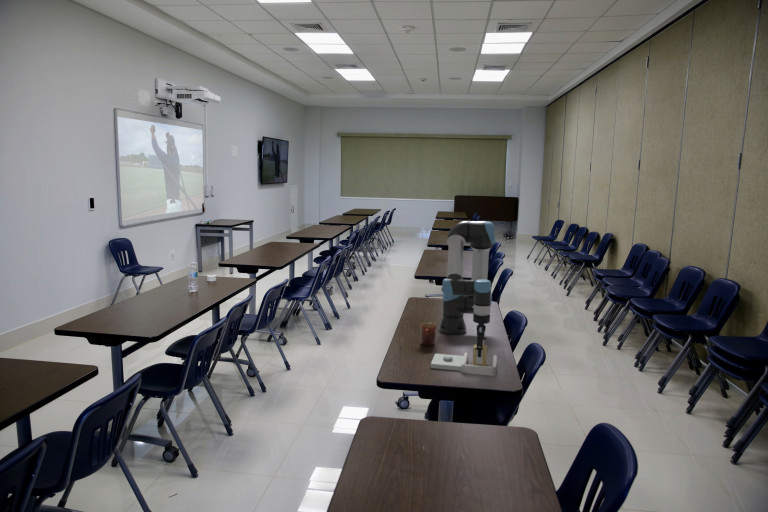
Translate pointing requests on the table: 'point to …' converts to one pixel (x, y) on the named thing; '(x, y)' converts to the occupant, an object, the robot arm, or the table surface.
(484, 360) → the chute block
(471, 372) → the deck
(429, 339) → the mug
